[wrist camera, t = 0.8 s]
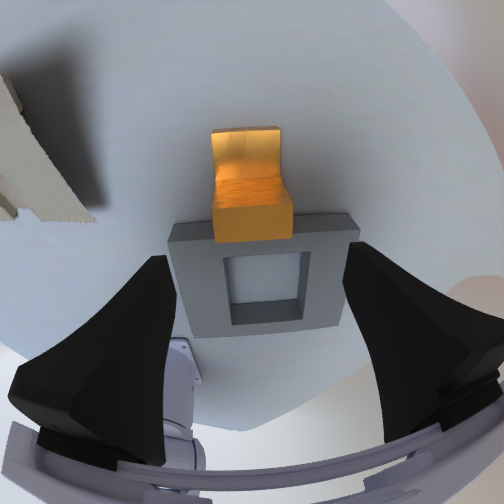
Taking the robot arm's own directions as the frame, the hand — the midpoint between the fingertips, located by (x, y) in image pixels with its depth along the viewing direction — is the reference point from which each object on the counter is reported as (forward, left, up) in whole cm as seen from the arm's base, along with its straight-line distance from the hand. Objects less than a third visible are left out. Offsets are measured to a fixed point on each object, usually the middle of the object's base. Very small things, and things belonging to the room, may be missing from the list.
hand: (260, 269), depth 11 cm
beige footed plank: (+6, +18, -10) cm, 22 cm away
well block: (-8, -1, -9) cm, 12 cm away
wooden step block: (+1, 0, -9) cm, 9 cm away
